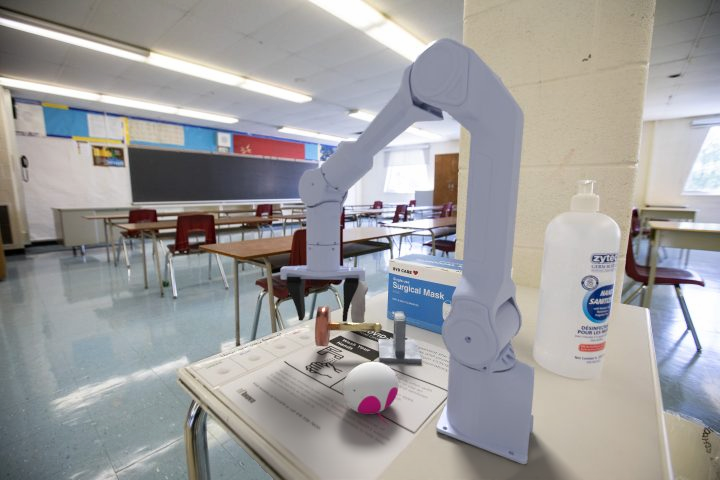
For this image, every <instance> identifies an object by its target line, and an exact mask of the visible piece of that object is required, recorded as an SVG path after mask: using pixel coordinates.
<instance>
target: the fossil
mask: <svg viewBox="0 0 720 480" xmlns="http://www.w3.org/2000/svg"><path fill="white" fill-rule="evenodd" d="M368 291H369V287H368V284H367V282H365V281H359V284H358V288H357V290H356V292H355V294H354V296H353V298H352V301H351V304H350V306H351V308H350V319H351V323H366V322H365V313H366V295H367V293H368Z"/></svg>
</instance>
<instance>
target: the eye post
mask: <svg viewBox="0 0 720 480" xmlns="http://www.w3.org/2000/svg"><path fill="white" fill-rule="evenodd" d="M406 324H407V320H406V318H405V314H404V311H400V310H398V311H396V310H394V312H393V333H392V334H393V335H392V338H378V343H377V345H379V346H378V359H379V362H380V363H387V364H389V363H392V364H393V363H394V364H395V363H396V364H422V362H423V359H422V356H421V351H420V350H419V347H418V344H417V341H416V339H406V330H407V329H406V328H407V325H406Z"/></svg>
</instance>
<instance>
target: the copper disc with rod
mask: <svg viewBox="0 0 720 480" xmlns="http://www.w3.org/2000/svg"><path fill="white" fill-rule="evenodd" d="M331 314H332V313H331V307H330V306H318V307H317V310H316V317H315V325H314V341H315V345H316V347H328V346H329V343H330V336H331V331H338V332H339V331H341V332H344V331H346V332H373V333H374V332H375V333H380V332H381V331H382V329H383V326H382V324H381V323H379V322H375V323H373V322H363V323H352V322H343V321H342V322H338V321H336V322H333V321H331V320H332V317H331Z"/></svg>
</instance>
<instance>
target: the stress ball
mask: <svg viewBox="0 0 720 480" xmlns="http://www.w3.org/2000/svg"><path fill="white" fill-rule="evenodd" d="M397 376H398V374H396V372H395V371H394V370H393V369H392V368H391V367H390V366H389V365H387V364H385V363H384V362H380V361H367V362H363V363H361V364H359V365H357V366H355V367H354V368H352V370H351V371H350V372H348V374H347V375H346V377H345V379H344V381H343V384H342V385H343V387H342V394H343V399H344V401H345V403H346V405H348V407H349V408H350V409H352V410H353V411H354V412H357V413H358V414H363V415H373V414H377V415H378V416H379V417H380V418H381V420H382V421H384V423H385V424H386V425H388V423H387V422H386V420H385V419H384V418H383V416H382V415H381V413H380V412H383V411H385V410H386V409H387V408H389V407H390V406H391V405H392V404H393V403H394V401H395V400H396V399H397V395H398V393H399V379H398V377H397Z"/></svg>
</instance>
